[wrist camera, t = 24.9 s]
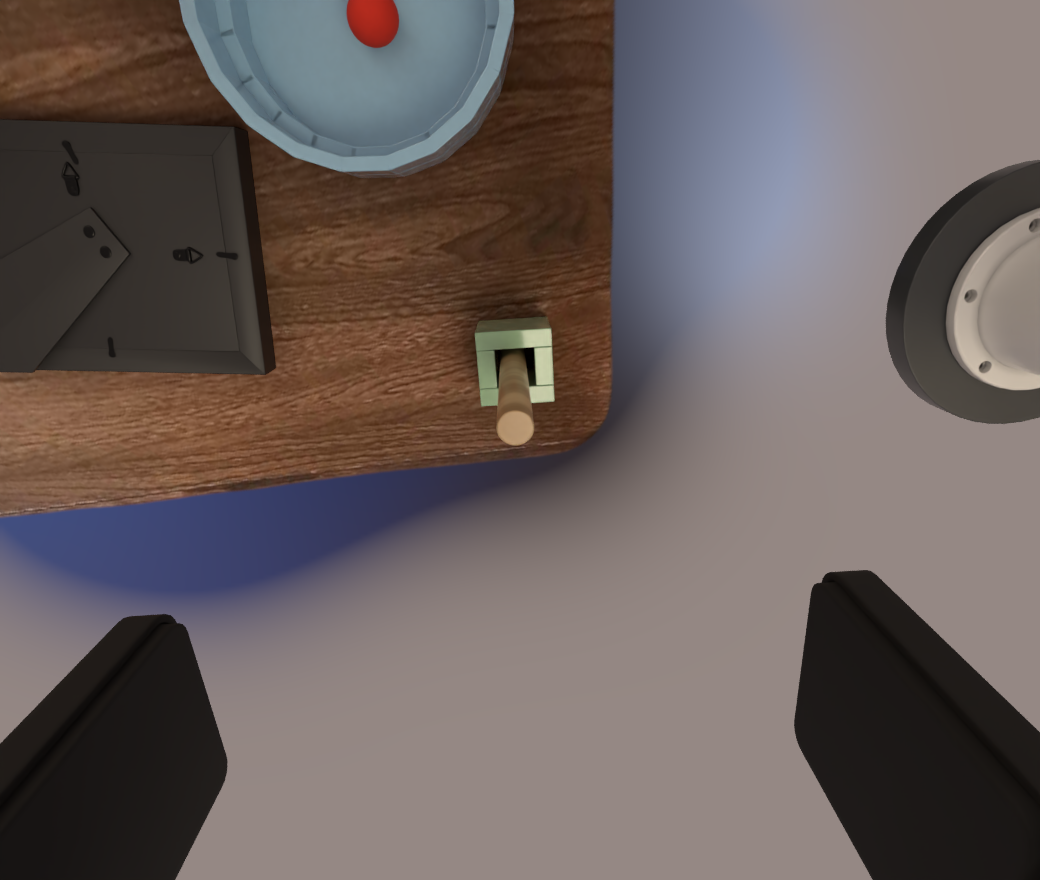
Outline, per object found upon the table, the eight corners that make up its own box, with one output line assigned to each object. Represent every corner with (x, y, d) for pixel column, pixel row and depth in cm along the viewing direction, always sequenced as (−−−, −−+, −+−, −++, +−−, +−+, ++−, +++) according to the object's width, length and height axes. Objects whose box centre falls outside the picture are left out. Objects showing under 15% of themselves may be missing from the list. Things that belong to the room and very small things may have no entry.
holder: (478, 320, 43) (474, 333, 38) (546, 316, 43) (551, 328, 38) (483, 387, 45) (481, 406, 40) (549, 382, 45) (554, 401, 40)
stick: (509, 336, 44) (510, 403, 28) (529, 349, 44) (541, 423, 28) (495, 356, 44) (488, 433, 28) (515, 369, 44) (520, 452, 28)
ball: (382, -36, 33) (408, 9, 36) (336, -19, 34) (365, 24, 37) (381, 9, 33) (408, 52, 35) (335, 25, 33) (364, 65, 36)
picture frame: (-9, 361, 43) (276, 367, 44) (-43, 371, 41) (261, 377, 41) (-79, 121, 38) (247, 131, 38) (-123, 113, 35) (228, 124, 36)
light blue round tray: (309, -242, 32) (267, -340, 27) (568, -20, 36) (580, -65, 30) (178, 64, 37) (119, 36, 32) (419, 232, 41) (404, 234, 35)
